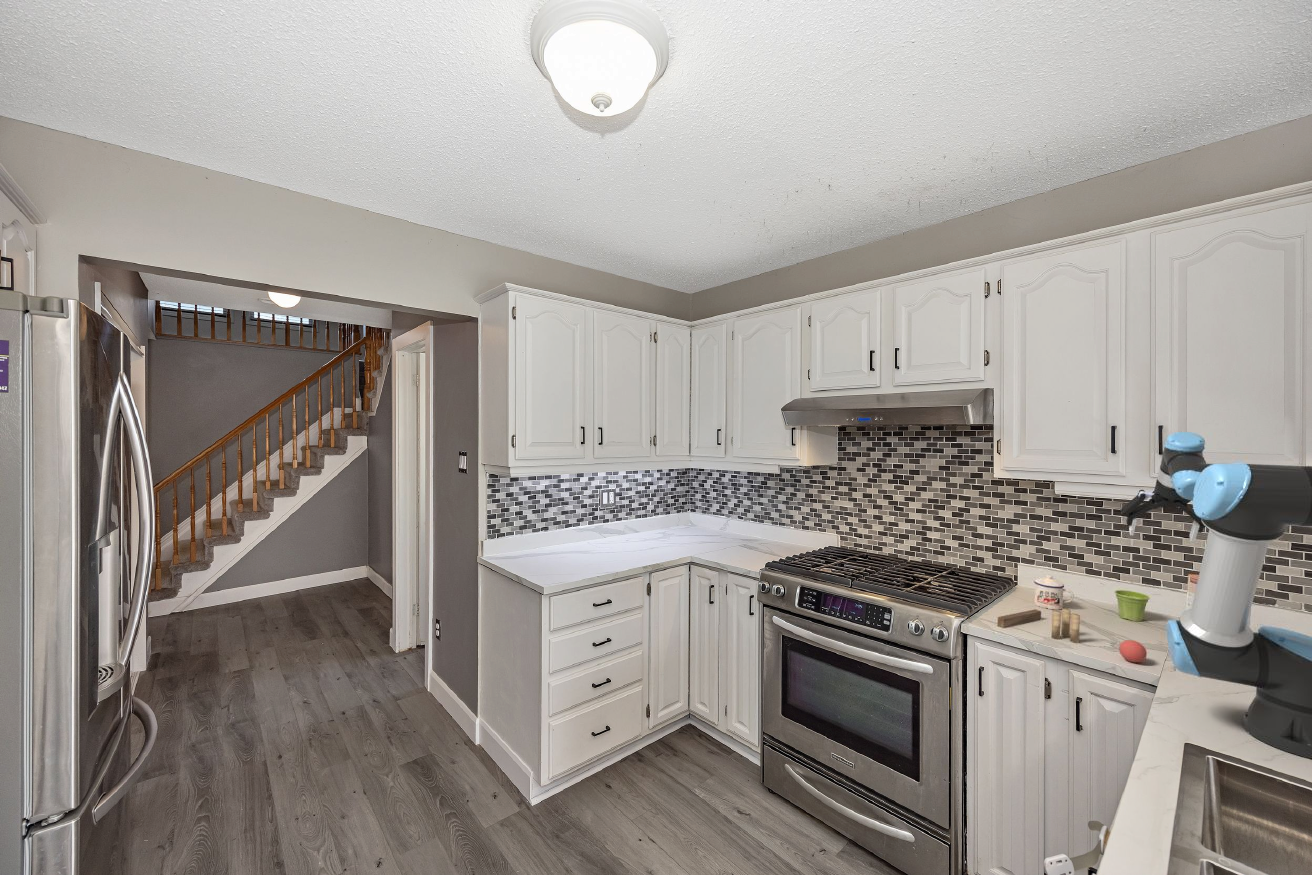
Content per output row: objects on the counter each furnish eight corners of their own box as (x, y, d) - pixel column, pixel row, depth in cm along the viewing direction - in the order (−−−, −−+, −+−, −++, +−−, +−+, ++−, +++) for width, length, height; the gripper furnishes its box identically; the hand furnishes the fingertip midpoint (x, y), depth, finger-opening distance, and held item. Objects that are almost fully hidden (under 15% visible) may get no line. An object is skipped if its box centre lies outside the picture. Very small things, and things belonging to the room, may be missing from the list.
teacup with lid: (1033, 606, 201) (1034, 576, 201) (1033, 600, 209) (1034, 570, 208) (1074, 613, 194) (1075, 581, 194) (1072, 606, 202) (1073, 575, 202)
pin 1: (1061, 639, 171) (1062, 613, 171) (1054, 639, 171) (1055, 612, 171) (1056, 636, 173) (1057, 610, 173) (1049, 636, 173) (1050, 610, 173)
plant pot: (1155, 624, 185) (1156, 599, 185) (1124, 622, 187) (1125, 597, 187) (1137, 614, 194) (1138, 591, 194) (1107, 612, 196) (1108, 589, 196)
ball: (1152, 666, 153) (1152, 645, 152) (1129, 665, 153) (1130, 644, 153) (1134, 657, 159) (1135, 637, 158) (1113, 656, 159) (1114, 636, 159)
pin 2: (1071, 637, 173) (1072, 610, 173) (1064, 636, 173) (1065, 610, 173) (1066, 634, 175) (1067, 608, 175) (1059, 634, 175) (1060, 608, 175)
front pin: (1080, 643, 168) (1081, 616, 168) (1073, 642, 169) (1074, 615, 168) (1075, 640, 171) (1076, 613, 170) (1068, 639, 171) (1069, 613, 170)
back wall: (1040, 619, 188) (1041, 611, 188) (1003, 627, 180) (1003, 619, 180) (1034, 617, 190) (1035, 609, 190) (997, 625, 182) (997, 616, 182)
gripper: (1234, 476, 148) (1215, 532, 159) (1116, 469, 162) (1106, 521, 172) (1241, 494, 143) (1221, 551, 154) (1118, 485, 157) (1108, 538, 167)
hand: (1160, 535), depth 163 cm, fingers open, 13 cm apart
